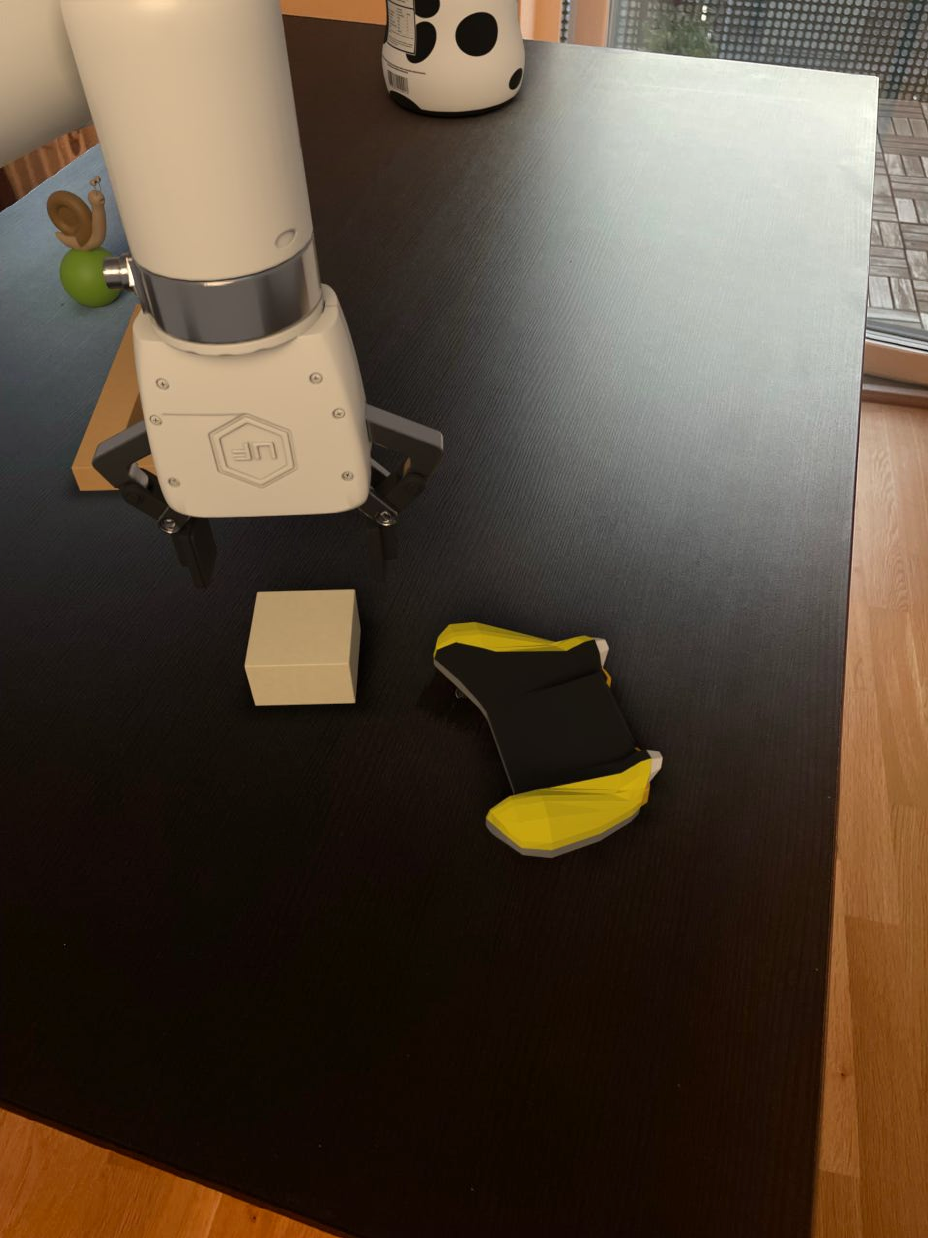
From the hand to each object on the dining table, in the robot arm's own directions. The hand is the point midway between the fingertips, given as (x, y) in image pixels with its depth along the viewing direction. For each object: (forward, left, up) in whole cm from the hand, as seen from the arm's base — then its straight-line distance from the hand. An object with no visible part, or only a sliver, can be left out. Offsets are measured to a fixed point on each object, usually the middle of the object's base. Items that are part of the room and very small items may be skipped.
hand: (293, 567), depth 55 cm
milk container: (+10, +92, -9) cm, 93 cm away
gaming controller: (+14, -7, -9) cm, 18 cm away
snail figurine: (-23, +45, -9) cm, 52 cm away
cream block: (0, 0, -9) cm, 9 cm away
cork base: (-12, +29, -9) cm, 33 cm away
